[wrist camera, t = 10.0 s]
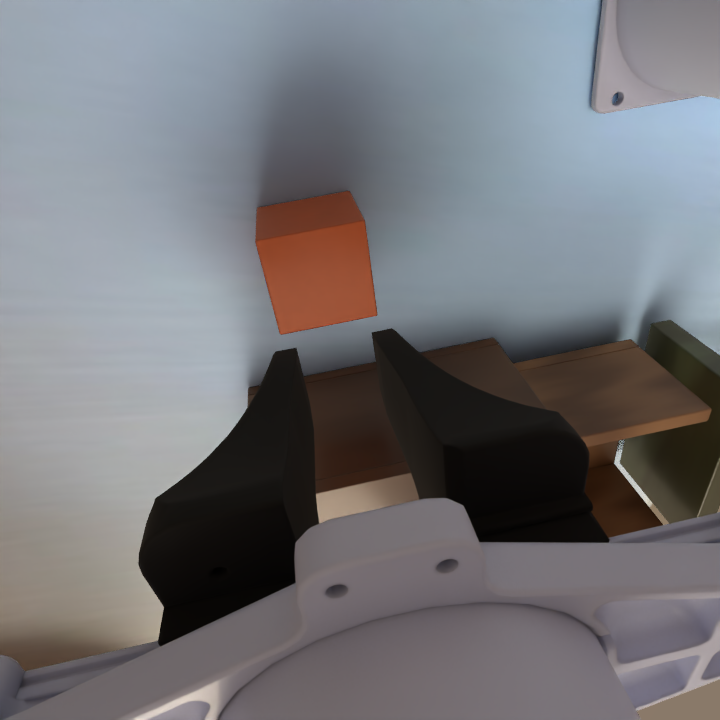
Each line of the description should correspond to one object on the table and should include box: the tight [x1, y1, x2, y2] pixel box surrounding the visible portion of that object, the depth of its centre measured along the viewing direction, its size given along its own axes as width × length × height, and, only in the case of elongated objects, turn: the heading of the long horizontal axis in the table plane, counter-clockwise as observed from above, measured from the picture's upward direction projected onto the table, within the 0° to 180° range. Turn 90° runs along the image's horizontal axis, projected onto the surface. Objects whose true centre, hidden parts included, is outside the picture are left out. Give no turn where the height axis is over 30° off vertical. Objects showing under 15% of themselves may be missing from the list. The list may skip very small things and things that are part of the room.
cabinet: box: [248, 338, 546, 524], centre depth 28 cm, size 14×12×8 cm
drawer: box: [513, 320, 720, 538], centre depth 28 cm, size 18×11×7 cm, turn 98°
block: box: [255, 191, 377, 335], centre depth 22 cm, size 4×4×4 cm
